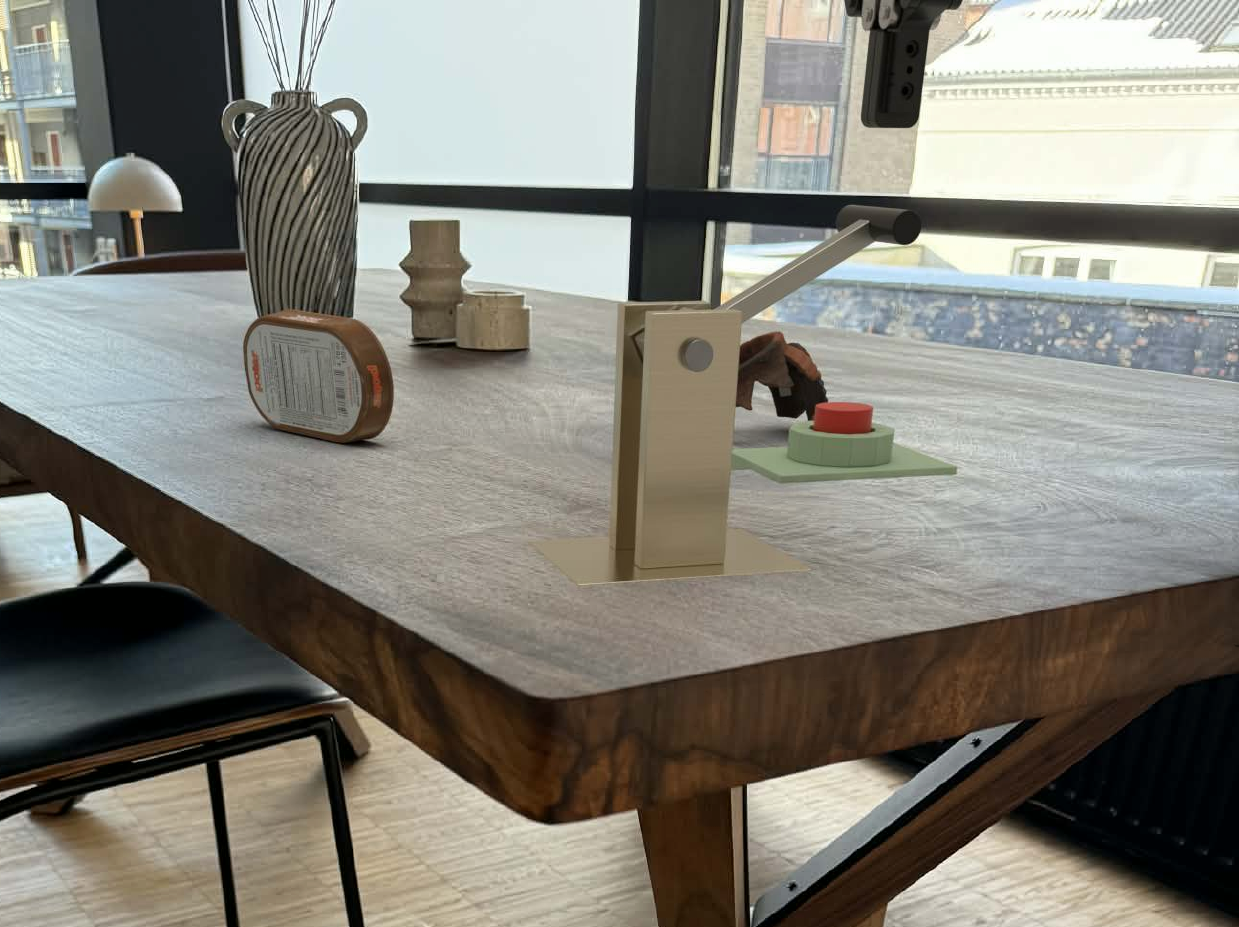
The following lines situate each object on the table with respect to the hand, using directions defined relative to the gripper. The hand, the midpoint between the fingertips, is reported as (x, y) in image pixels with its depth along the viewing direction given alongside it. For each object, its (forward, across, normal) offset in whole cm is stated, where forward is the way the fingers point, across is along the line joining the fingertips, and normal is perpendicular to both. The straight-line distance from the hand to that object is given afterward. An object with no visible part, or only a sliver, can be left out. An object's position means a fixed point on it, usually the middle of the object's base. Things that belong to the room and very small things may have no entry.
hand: (888, 127), depth 69 cm
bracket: (+20, 0, +10) cm, 22 cm away
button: (+17, +20, -9) cm, 28 cm away
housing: (+20, +20, -9) cm, 30 cm away
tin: (+20, +46, +21) cm, 54 cm away
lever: (+8, 0, +5) cm, 9 cm away
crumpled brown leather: (+20, +38, -12) cm, 45 cm away
